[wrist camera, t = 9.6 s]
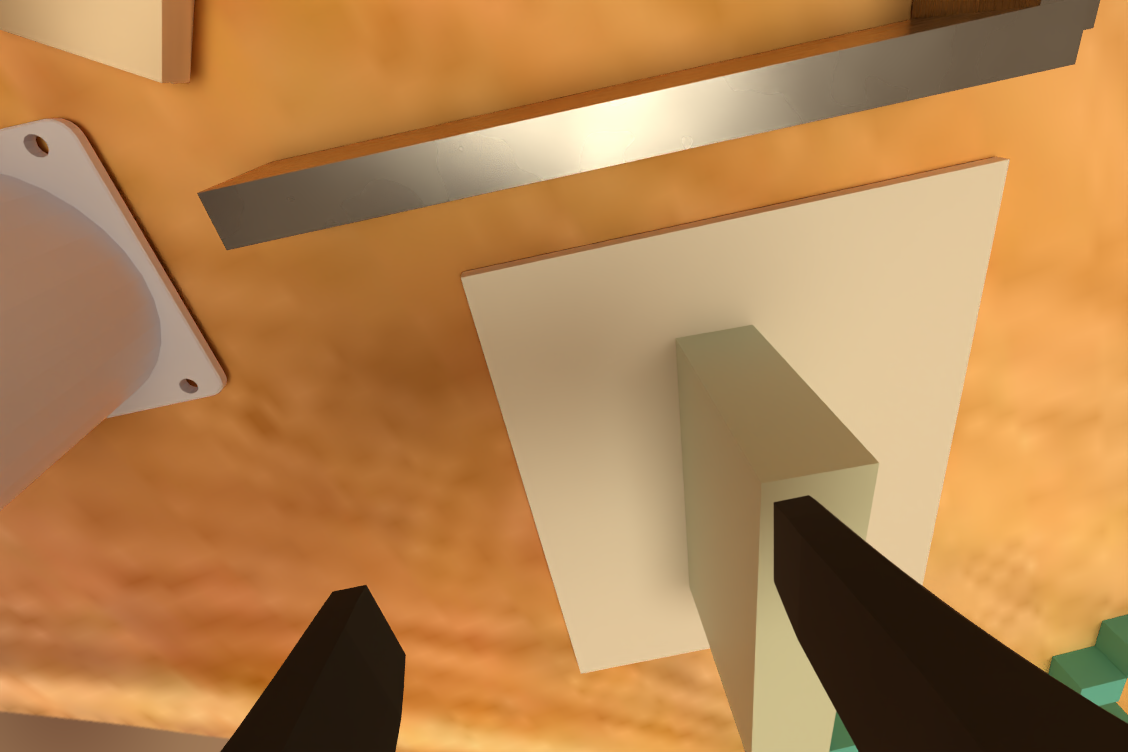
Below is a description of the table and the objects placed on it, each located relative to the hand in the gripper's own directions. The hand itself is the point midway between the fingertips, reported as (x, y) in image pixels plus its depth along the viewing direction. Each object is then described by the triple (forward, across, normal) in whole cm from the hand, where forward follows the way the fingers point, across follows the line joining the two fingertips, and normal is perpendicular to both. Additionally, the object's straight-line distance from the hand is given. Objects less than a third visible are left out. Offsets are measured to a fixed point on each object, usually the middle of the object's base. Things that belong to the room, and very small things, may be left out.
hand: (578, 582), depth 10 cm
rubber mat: (+9, -6, +7) cm, 13 cm away
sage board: (+9, -5, +6) cm, 12 cm away
